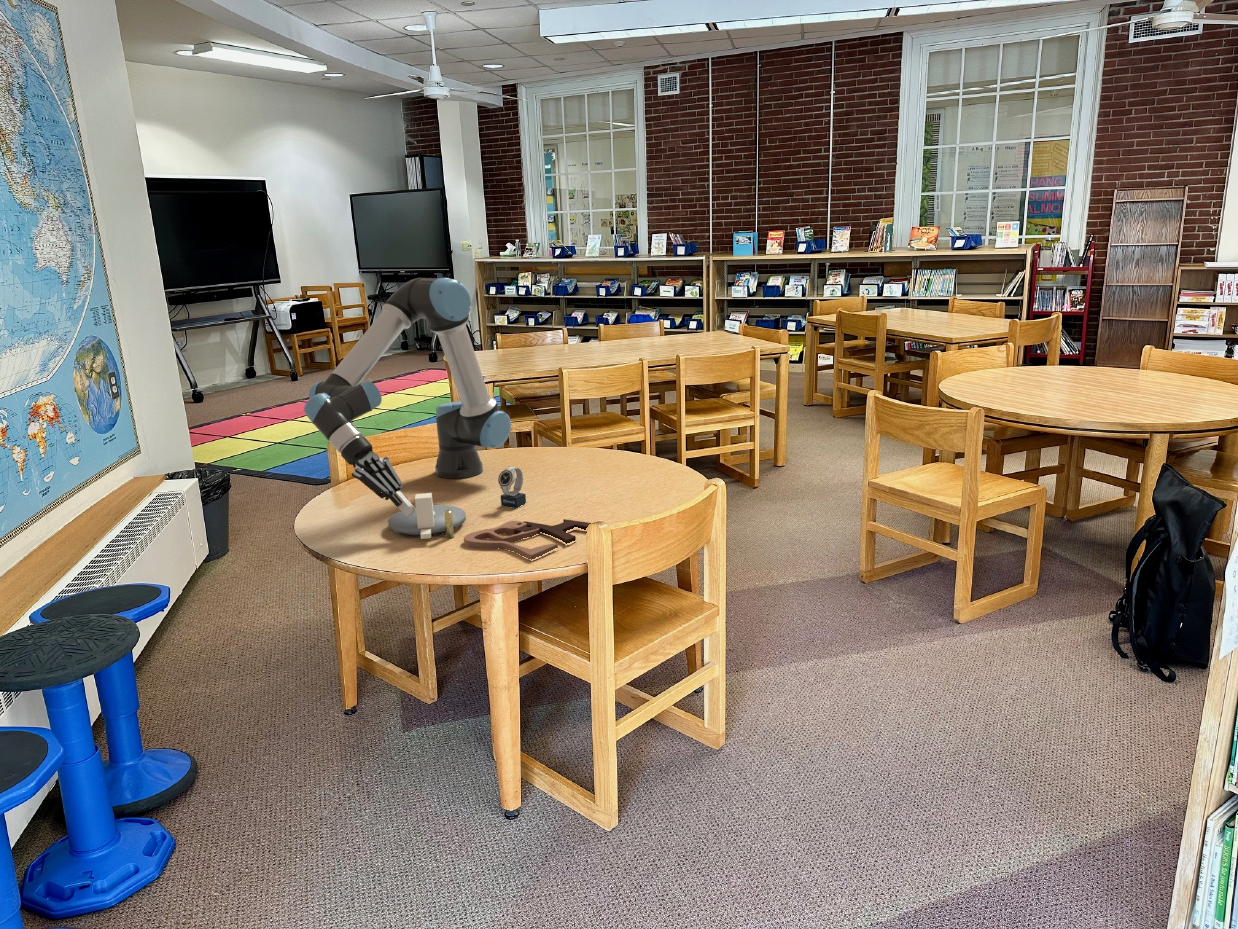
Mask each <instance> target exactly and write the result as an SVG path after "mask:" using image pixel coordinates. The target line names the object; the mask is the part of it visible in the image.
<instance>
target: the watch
mask: <svg viewBox="0 0 1238 929" xmlns="http://www.w3.org/2000/svg"><path fill="white" fill-rule="evenodd" d="M515 473H516V475H515ZM523 475H524V474H523V471H522V470H521V468H520V467H517V466H515V467H514V466H508V467H506V468H504V470H502V471H501V472H500V474H498V478H497V481H498V482H497V483H498V485H499V488H500V489H501V491H502V494H501V495H500V506H501V507H505V508H510V507H512V508H511V509H516V508H517V509H519V508H521V507H522V506H521V505H523V506H525V505H524V504H525V503H526V504H527V498H526V493H523V492H521V490H522V488H523V484H524V476H523ZM513 484H514V485H513ZM512 486H513V490H511V489H512ZM510 490H511V491H510ZM520 506H521V507H520ZM518 507H519V508H518Z"/></svg>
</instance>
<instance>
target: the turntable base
mask: <svg viewBox="0 0 1238 929" xmlns="http://www.w3.org/2000/svg"><path fill="white" fill-rule="evenodd" d="M457 528H458V526H457V527H455V528H453V530H455V529H457ZM443 534H446V531H442V532H436V533H431V537H436V536H440V535H443ZM399 535H402V536H405V537H411V538H421V534H404V533H399Z"/></svg>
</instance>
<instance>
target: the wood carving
mask: <svg viewBox="0 0 1238 929" xmlns="http://www.w3.org/2000/svg"><path fill="white" fill-rule="evenodd" d="M591 523H592V522H587V521H582V520H581V521H580V520H574V519H566V518H563V522H561V523H558V524H554V525H549V524H545V523H538V522H532V521H519V520H509V521H507V522H504V523H502V524H500V525H499V526H497V527H492V528H485V529H481V530H477V531H473V532H469V533H468V534H466V535H465V536H463V545H464V546H465V547H467V548H472V549H481V550H504V549H507V550H506V551H508V550H510V551H514V552H515V553H518V554H520V555H521V556H524V557H526V558H528V559H531V560H532V559H535V558H536V557H539V556H542V555H543V554H545V553H547V552H549V551H551V550H553V549H555V548H558V549H559V545H558V543H548V544H544V545H539V546H536V547H532V548H528V547H526V546H525V547H524V546H521V545H518V544H515V543H516V542H515V541H518V540H521V539H523V538H527V537H532V536H534V535H536V534H539V533H540V532H542V533H545V534H548V535H551V536H553V537H555V538H558V539H560V540H562V541H563V542H565V543H566V544H567V543H570V542H572V541H575V540H576V539H577V537H576V535H574V534H571V533H566V531H567V530H570V529H573V528H574V527H578V528H581V529H584V530H586V528H587V527H588V525H589V524H591ZM503 533H506V534H505V535H508V536H504V534H503ZM499 534H500V535H499ZM512 534H514V535H512ZM486 538H489V539H488V540H487V539H486ZM491 539H492V540H491ZM493 540H494V541H493ZM576 541H577V540H576ZM511 542H514V543H511ZM518 542H519V541H518ZM498 548H499V549H498ZM510 551H509V552H510ZM515 553H514V554H515ZM521 556H520V557H521Z"/></svg>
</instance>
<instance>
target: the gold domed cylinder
mask: <svg viewBox="0 0 1238 929" xmlns="http://www.w3.org/2000/svg"><path fill="white" fill-rule="evenodd" d="M444 519H445V530H446V533H445V538H446V539H448V540H449V539H454V538H455V533H454V530H455V529H454V530H453V518H452V510H445V511H444Z"/></svg>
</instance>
